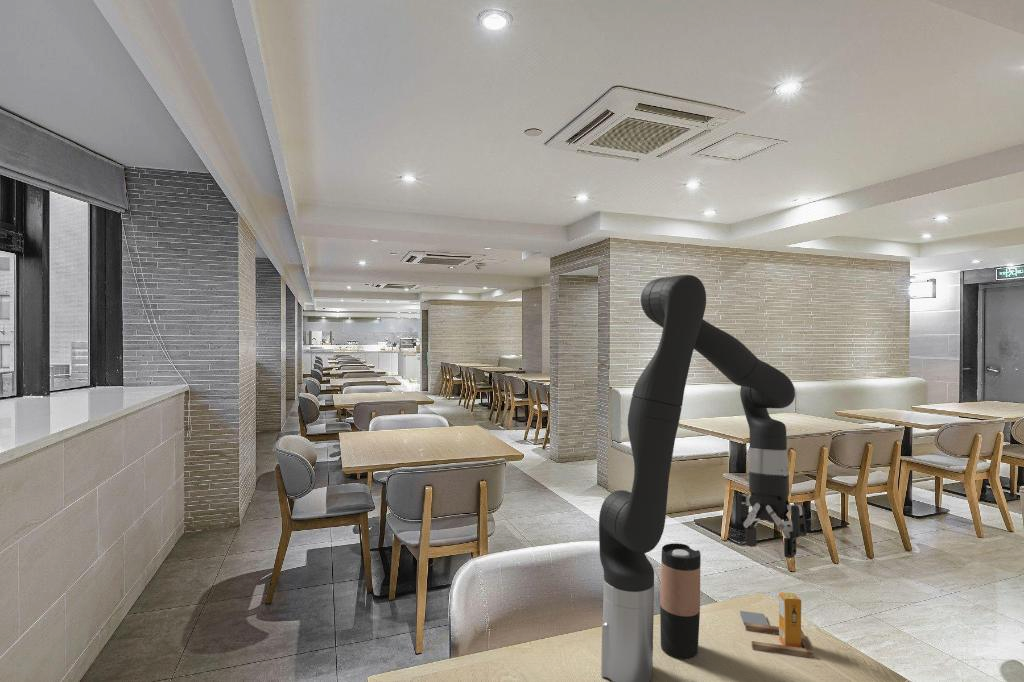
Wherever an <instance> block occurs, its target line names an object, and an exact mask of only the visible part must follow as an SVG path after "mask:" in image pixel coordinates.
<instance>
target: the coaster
mask: <svg viewBox="0 0 1024 682" xmlns="http://www.w3.org/2000/svg"><path fill="white" fill-rule="evenodd" d="M739 614H740V617H741V619H742V623H743V625H744V626H745V622H746V623H753V624H761V625H768V626H770V625H769V623H768V621H767V617H766V616H765V613H762V612H753V611H752V612H751V611H746V610H745V611H744V610H740V611H739Z"/></svg>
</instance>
